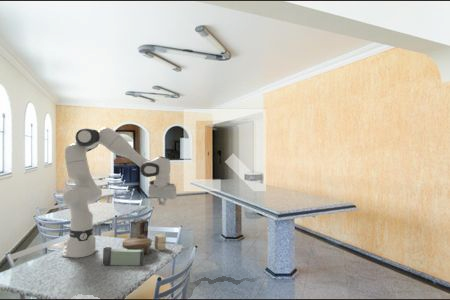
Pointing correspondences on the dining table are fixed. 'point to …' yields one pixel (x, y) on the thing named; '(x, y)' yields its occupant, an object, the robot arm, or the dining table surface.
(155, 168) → the robot arm
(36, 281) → the dining table surface
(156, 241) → the birch block
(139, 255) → the green rectangular block
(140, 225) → the coffee box
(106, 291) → the dining table surface
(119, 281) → the dining table surface
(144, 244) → the stool
